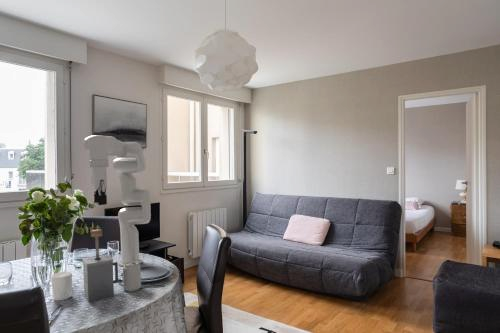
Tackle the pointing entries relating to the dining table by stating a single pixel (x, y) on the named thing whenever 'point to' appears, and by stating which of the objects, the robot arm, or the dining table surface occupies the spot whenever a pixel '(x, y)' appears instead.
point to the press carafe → (99, 277)
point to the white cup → (62, 285)
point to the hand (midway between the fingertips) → (100, 203)
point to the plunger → (96, 234)
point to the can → (131, 276)
